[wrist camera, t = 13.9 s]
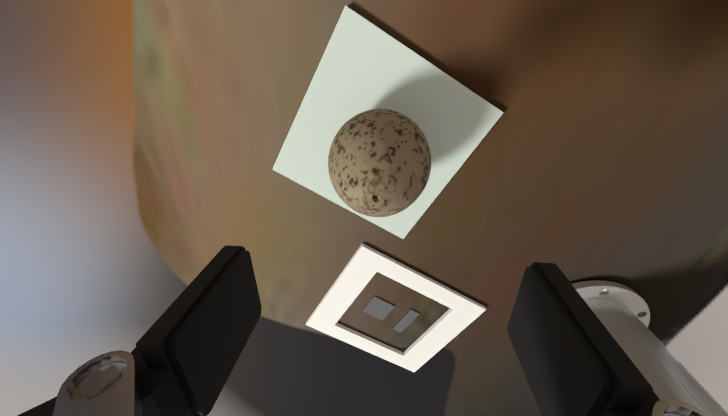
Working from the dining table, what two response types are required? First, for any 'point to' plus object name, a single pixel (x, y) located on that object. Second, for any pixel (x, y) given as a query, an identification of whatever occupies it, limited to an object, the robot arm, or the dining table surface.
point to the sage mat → (382, 91)
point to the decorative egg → (379, 162)
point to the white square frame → (355, 281)
